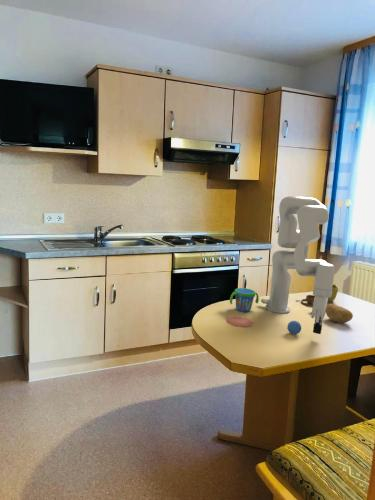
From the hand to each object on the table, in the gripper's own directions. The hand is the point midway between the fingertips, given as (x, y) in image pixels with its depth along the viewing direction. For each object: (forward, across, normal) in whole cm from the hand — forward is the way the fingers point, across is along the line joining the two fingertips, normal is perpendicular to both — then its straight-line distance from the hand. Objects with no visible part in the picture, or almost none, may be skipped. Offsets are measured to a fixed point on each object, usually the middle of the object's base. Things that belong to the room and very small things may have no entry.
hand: (316, 332), depth 178 cm
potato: (+3, -30, +6) cm, 31 cm away
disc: (+3, 0, -35) cm, 35 cm away
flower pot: (+2, -66, -3) cm, 66 cm away
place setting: (+3, -49, -11) cm, 50 cm away
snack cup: (+3, -18, -39) cm, 43 cm away
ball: (0, 0, -10) cm, 10 cm away
